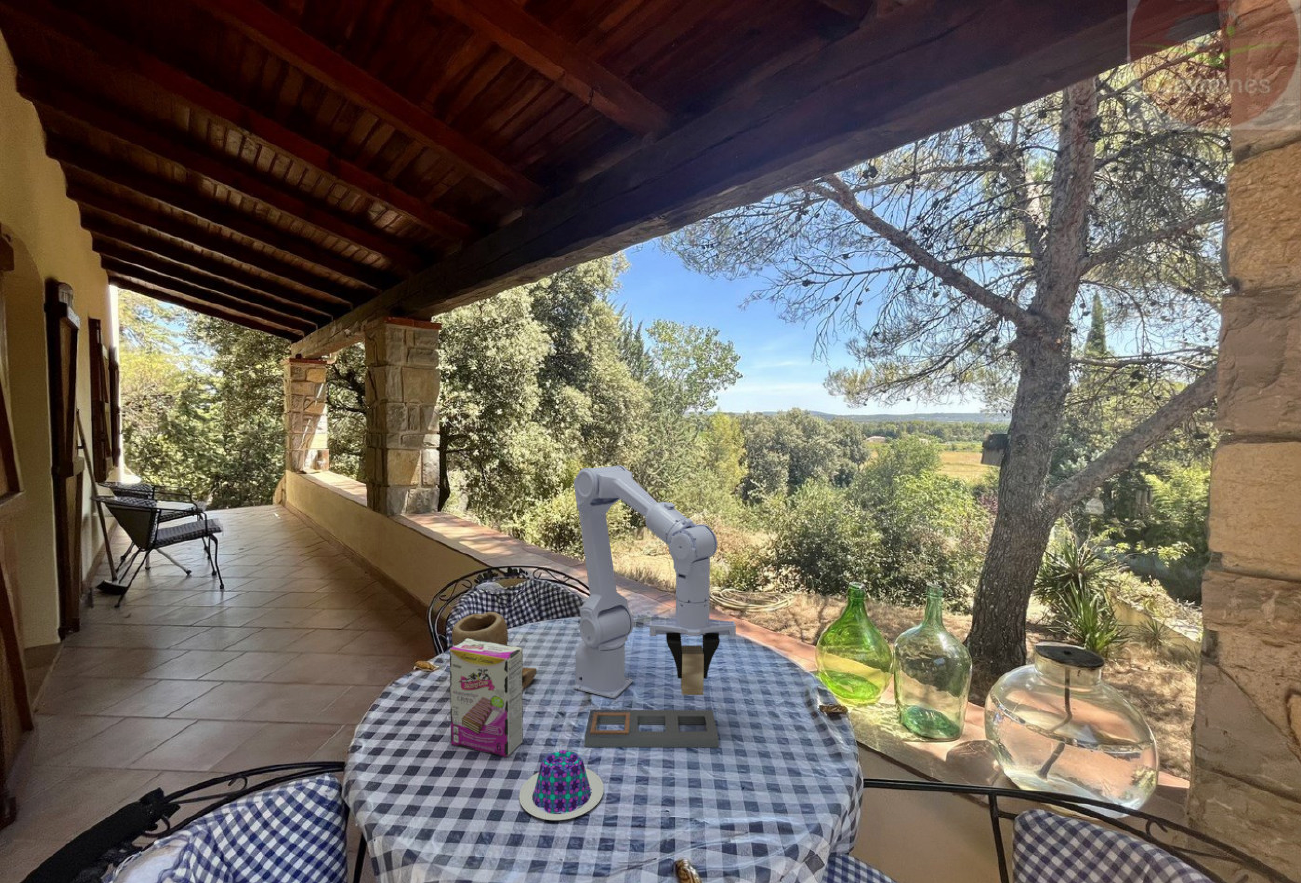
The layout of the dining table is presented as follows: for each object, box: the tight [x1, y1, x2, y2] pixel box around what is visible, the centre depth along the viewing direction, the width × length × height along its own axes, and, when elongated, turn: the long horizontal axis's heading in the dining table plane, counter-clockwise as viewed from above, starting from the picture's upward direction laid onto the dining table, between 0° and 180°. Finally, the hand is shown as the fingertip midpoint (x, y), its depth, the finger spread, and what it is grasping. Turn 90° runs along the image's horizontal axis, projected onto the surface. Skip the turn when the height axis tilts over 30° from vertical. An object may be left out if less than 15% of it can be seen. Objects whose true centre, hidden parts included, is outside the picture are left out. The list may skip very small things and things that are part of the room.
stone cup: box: [451, 611, 538, 690], centre depth 114 cm, size 15×12×15 cm
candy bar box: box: [449, 638, 524, 758], centre depth 95 cm, size 11×5×16 cm, turn 71°
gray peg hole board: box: [583, 709, 720, 748], centre depth 99 cm, size 22×9×2 cm, turn 90°
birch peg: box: [680, 644, 705, 696], centre depth 99 cm, size 4×4×7 cm
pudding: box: [518, 749, 605, 821], centre depth 83 cm, size 12×12×5 cm
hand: (691, 675), depth 99 cm, fingers closed on birch peg, 4 cm apart
